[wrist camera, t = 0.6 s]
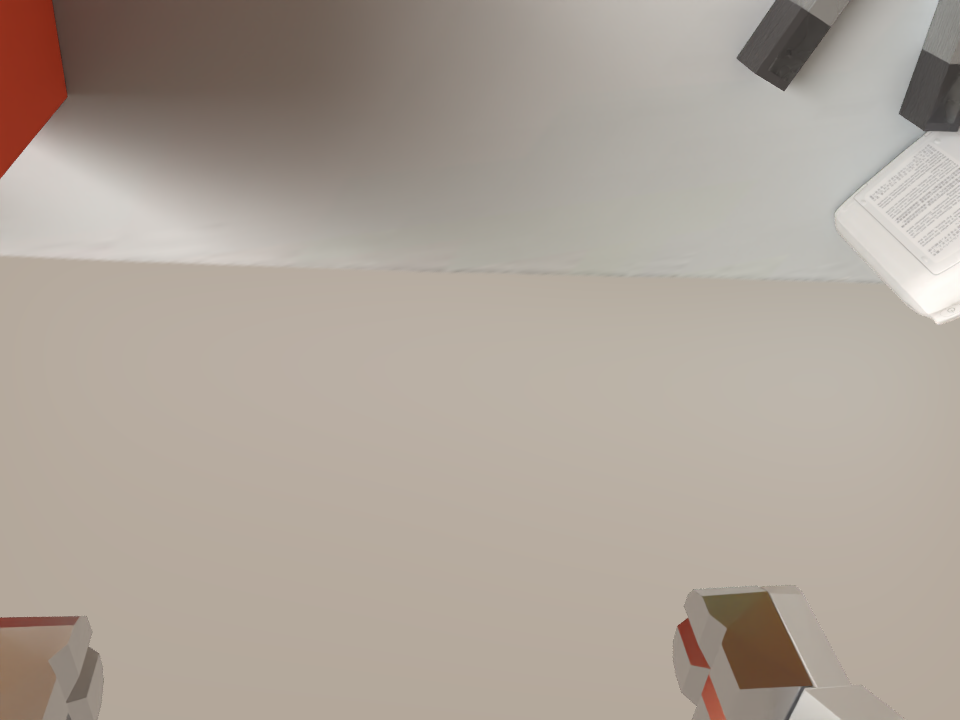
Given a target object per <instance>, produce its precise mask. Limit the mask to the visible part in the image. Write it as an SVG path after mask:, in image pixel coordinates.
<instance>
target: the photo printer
mask: <svg viewBox="0 0 960 720" xmlns="http://www.w3.org/2000/svg"><path fill="white" fill-rule="evenodd" d="M834 217H835V227H836V230H837V232H838V233H839V234H840V236H841V237H842V238H843V239H844V240H845V241H846V242H847V243H848V244H849V245H850V246H851V247H852V248H853V249H854V251H855V252H856V253H857V254H858V255H859V256H860V257H861V258H862V259H863V260H864V261H865V262H866V263H867V264H868V266H869V267H870V268H871V269H872V270H873V271H874V272H875V273H876V274H877V275H878V276H879V277H880V278H881V279H882V280H883V281H884V283H885V284H886V285H887V286H888V287H889V288H890V289H891V290H892V291H893V292H894V293H895V294H896V295H897V296H898V297H899V298H900V299H901V300H902V301H903V303H905V304H906V305H907V306H908V307H910V308H911V309H912V310H914V311H915V312H916V313H918V314H920V315H922V316H925V317H929V318H931V319H932V320H933V321H934V322H935V323H936V324H937V325H941V324H944V323H947V322H950V321H952V320H955V319H958V318H960V127H959V130H958V132H945V131H928V132H927V133H925V134H924V135H923V136H922V137H921V138H919V139H918V140H917V141H916V142H914V143H913V144H912V145H911V146H910V147H909V148H907V149H906V150H905V151H904V152H902V153H901V154H900V155H899V156H898V157H896V158H895V159H894V160H893V161H892V162H890V163H889V164H888V165H887V166H886V167H884V168H883V169H882V170H881V171H880V172H879V173H877V174H876V175H875V176H874V177H873V178H871V179H870V180H869V181H868V182H867V183H866V184H864V185H863V186H862V187H861V188H860V189H859V190H857V191H856V192H855V193H854V194H853V195H852V196H851V197H849V198H848V199H847V200H846V201H845V202H844V203H843V204H842V205H841V206H840V207H839V208H838V210H837V211H836V212H835V214H834Z"/></svg>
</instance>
